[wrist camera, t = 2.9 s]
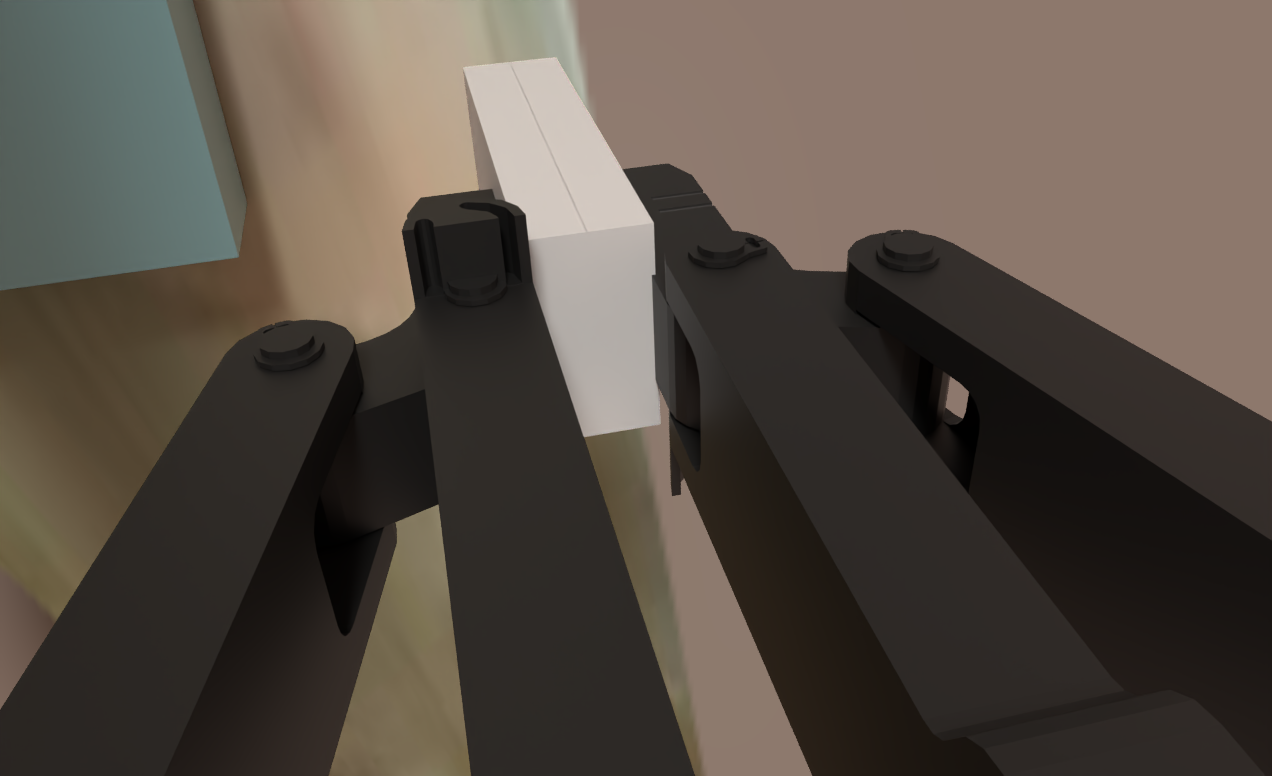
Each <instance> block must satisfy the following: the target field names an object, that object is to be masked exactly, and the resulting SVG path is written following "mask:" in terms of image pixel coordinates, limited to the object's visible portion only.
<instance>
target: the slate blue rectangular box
mask: <svg viewBox="0 0 1272 776" xmlns="http://www.w3.org/2000/svg"><path fill="white" fill-rule="evenodd" d="M246 208H247V201H246V197H245V193H244V189H243V186H242V182H241V178H240V175H239V171H238V167H237V163H236V160H235V156H234V152H233V148H232V145H231V141H230V137H229V134H228V130H227V126H226V122H225V119H224V115H223V111H222V108H221V104H220V100H219V96H218V93H217V89H216V85H215V81H214V78H213V74H212V70H211V67H210V63H209V59H208V55H207V52H206V48H205V44H204V41H203V37H202V33H201V29H200V26H199V22H198V18H197V14H196V11H195V7H194V3H193V0H0V290H8V289H15V288H22V287H29V286H36V285H44V284H51V283H58V282H65V281H72V280H80V279H87V278H94V277H101V276H108V275H116V274H123V273H130V272H137V271H144V270H152V269H159V268H166V267H173V266H180V265H188V264H195V263H202V262H209V261H216V260H224V259H231V258H238V257H239V253H240V247H241V240H242V234H243V227H244V221H245V214H246Z"/></svg>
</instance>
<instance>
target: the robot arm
mask: <svg viewBox="0 0 1272 776" xmlns="http://www.w3.org/2000/svg"><path fill="white" fill-rule="evenodd" d="M463 72H464V80H465V87H466V95H467V102H468V110H469V118H470V125H471V133H472V140H473V148H474V155H475V163H476V170H477V178H478V185H479V190H478V191H470V192H462V193H454V194H447V195H439V196H431V197H423V198H420V199H419V200H418V202H417V203H416V204H415V205H414V207H413V208H412V209H411V210H410V212H409V213H408V214H407V220H406V221H405V223H404V226H403V229H402V235H403V240H404V246H405V251H406V257H407V262H408V268H409V273H410V279H411V284H412V290H413V295H414V302H415V310H414V311H413V313H412V314H411V316H410V317H409V318H408V319H407V320H406V321H405V322H403V323H402V324H401V325H400V326H398V327H397V328H395V329H393V330H391V331H390V332H388V333H386V334H384V335H381V336H379V337H376V338H374V339H371V340H369V341H366V342H362V343H359V344H355V340H354V337H353V336H352V335H351V333H350V332H349V331H348V330H347V329H346V328H345V327H343V326H340V325H337V324H335V323H332V322H329V321H319V320H299V321H283V322H278V323H275V325H272V324H271V325H268V326H265V327H263V328H260V329H259V330H258V331H256V332H254V333H252V334H250V335H248V336H247V337H245V338H243V339H241V340H239V341H238V342H237V343H236V344H235V345H234V346H233V347H232V348H231V349H230V350H229V351H228V352H227V353H226V354H225V356H224V357H223V359H222V360H221V362H220V364H219V365H218V367H217V368H216V370H215V371H214V373H213V375H212V376H211V378H210V379H209V381H208V382H207V384H206V386H205V387H204V389H203V390H202V392H201V394H200V395H199V397H198V398H197V400H196V401H195V403H194V405H193V406H192V408H191V409H190V411H189V412H188V414H187V416H186V417H185V419H184V420H183V422H182V424H181V425H180V427H179V428H178V430H177V431H176V433H175V435H174V436H173V438H172V439H171V441H170V442H169V444H168V446H167V447H166V449H165V450H164V452H163V454H162V455H161V457H160V458H159V460H158V461H157V463H156V465H155V466H154V468H153V469H152V471H151V472H150V474H149V476H148V477H147V479H146V480H145V482H144V484H143V485H142V487H141V488H140V490H139V491H138V493H137V495H136V496H135V498H134V499H133V501H132V503H131V504H130V506H129V507H128V509H127V510H126V512H125V514H124V515H123V517H122V518H121V520H120V521H119V523H118V525H117V526H116V528H115V529H114V531H113V533H112V534H111V536H110V537H109V539H108V540H107V542H106V544H105V545H104V547H103V548H102V550H101V551H100V553H99V555H98V556H97V558H96V559H95V561H94V563H93V564H92V566H91V567H90V569H89V570H88V572H87V574H86V575H85V577H84V578H83V580H82V581H81V583H80V585H79V586H78V588H77V589H76V591H75V593H74V594H73V596H72V597H71V599H70V600H69V602H68V604H67V605H66V607H65V608H64V610H63V612H62V613H61V615H60V616H59V618H58V619H57V621H56V623H55V624H54V626H53V627H52V629H51V630H50V632H49V634H48V635H47V637H46V638H45V640H44V642H43V643H42V645H41V646H40V648H39V649H38V651H37V653H36V655H35V656H34V657H33V659H32V661H31V662H30V664H29V665H28V667H27V668H26V670H25V672H24V673H23V675H22V676H21V678H20V680H19V681H18V683H17V684H16V686H15V687H14V689H13V691H12V692H11V694H10V695H9V697H8V698H7V700H6V702H5V703H4V705H3V706H2V708H1V710H0V776H328V775H329V772H330V769H331V765H332V762H333V758H334V755H335V752H336V748H337V745H338V741H339V738H340V735H341V731H342V728H343V724H344V721H345V717H346V714H347V711H348V707H349V704H350V700H351V697H352V694H353V690H354V687H355V683H356V680H357V676H358V673H359V670H360V666H361V663H362V659H363V656H364V653H365V649H366V646H367V642H368V639H369V636H370V632H371V629H372V625H373V622H374V618H375V615H376V612H377V608H378V605H379V601H380V598H381V595H382V591H383V588H384V584H385V581H386V577H387V574H388V571H389V567H390V564H391V560H392V557H393V554H394V550H395V547H396V543H397V528H396V523H395V522H397V521H399V520H402V519H404V518H406V517H409V516H411V515H414V514H416V513H419V512H421V511H423V510H426V509H428V508H431V507H433V506H435V505H438V504H439V511H440V519H441V527H442V536H443V544H444V552H445V561H446V569H447V577H448V586H449V594H450V603H451V611H452V619H453V628H454V636H455V644H456V653H457V661H458V669H459V678H460V686H461V695H462V703H463V711H464V720H465V728H466V736H467V745H468V753H469V761H470V770H471V776H695V774H694V771H693V768H692V765H691V762H690V759H689V756H688V753H687V750H686V747H685V744H684V741H683V738H682V735H681V732H680V729H679V726H678V723H677V720H676V717H675V714H674V711H673V707H672V704H671V701H670V698H669V695H668V692H667V689H666V686H665V683H664V680H663V677H662V674H661V671H660V668H659V665H658V662H657V659H656V656H655V653H654V650H653V647H652V643H651V640H650V637H649V634H648V631H647V628H646V625H645V622H644V619H643V616H642V613H641V610H640V607H639V604H638V601H637V598H636V595H635V592H634V589H633V586H632V583H631V579H630V576H629V573H628V570H627V567H626V564H625V561H624V558H623V555H622V552H621V549H620V546H619V543H618V540H617V537H616V534H615V531H614V528H613V525H612V522H611V519H610V515H609V512H608V509H607V506H606V503H605V500H604V497H603V494H602V491H601V488H600V485H599V482H598V479H597V476H596V473H595V470H594V467H593V464H592V461H591V458H590V455H589V451H588V448H587V445H586V442H585V439H584V437H588V436H594V435H600V434H606V433H612V432H618V431H624V430H630V429H636V428H641V427H647V426H653V425H659V424H660V395H659V388H660V390H661V393H662V395H663V397H664V399H665V401H666V404H667V406H668V408H669V432H670V469H671V489H672V496H675V495H680V494H681V481H682V480H683V478H684V479H685V481H686V483H687V486H688V488H689V490H690V493H691V495H692V497H693V499H694V502H695V504H696V506H697V509H698V511H699V513H700V516H701V518H702V520H703V523H704V525H705V527H706V530H707V532H708V534H709V537H710V539H711V541H712V544H713V546H714V548H715V551H716V553H717V555H718V558H719V560H720V562H721V564H722V567H723V569H724V572H725V574H726V576H727V578H728V581H729V583H730V585H731V588H732V590H733V592H734V595H735V597H736V599H737V602H738V604H739V606H740V609H741V611H742V613H743V616H744V618H745V620H746V622H747V625H748V627H749V630H750V632H751V634H752V637H753V639H754V641H755V643H756V646H757V648H758V650H759V653H760V655H761V657H762V660H763V662H764V664H765V666H766V669H767V671H768V674H769V676H770V678H771V681H772V683H773V685H774V688H775V690H776V692H777V694H778V697H779V699H780V702H781V704H782V706H783V708H784V711H785V713H786V715H787V718H788V720H789V722H790V725H791V727H792V729H793V732H794V734H795V736H796V738H797V741H798V743H799V746H800V748H801V750H802V752H803V755H804V757H805V759H806V762H807V764H808V767H809V769H810V771H811V773H812V776H1272V422H1271V421H1270V420H1268V419H1266V418H1264V417H1263V416H1261V415H1259V414H1257V413H1255V412H1253V411H1252V410H1250V409H1248V408H1247V407H1245V406H1243V405H1241V404H1239V403H1238V402H1235V401H1234V400H1232V399H1230V398H1228V397H1227V396H1225V395H1223V394H1221V393H1220V392H1218V391H1216V390H1214V389H1213V388H1211V387H1209V386H1207V385H1205V384H1204V383H1202V382H1200V381H1198V380H1196V379H1194V378H1193V377H1191V376H1189V375H1188V374H1186V373H1184V372H1182V371H1180V370H1178V369H1177V368H1175V367H1173V366H1171V365H1170V364H1168V363H1166V362H1164V361H1162V360H1161V359H1159V358H1157V357H1155V356H1154V355H1152V354H1150V353H1148V352H1146V351H1145V350H1143V349H1141V348H1139V347H1137V346H1136V345H1134V344H1132V343H1130V342H1128V341H1127V340H1125V339H1123V338H1121V337H1120V336H1118V335H1116V334H1114V333H1112V332H1111V331H1109V330H1107V329H1105V328H1103V327H1102V326H1100V325H1098V324H1096V323H1095V322H1092V321H1091V320H1089V319H1087V318H1086V317H1084V316H1082V315H1080V314H1078V313H1077V312H1074V311H1073V310H1071V309H1069V308H1068V307H1065V306H1064V305H1062V304H1061V303H1059V302H1057V301H1055V300H1053V299H1052V298H1050V297H1048V296H1046V295H1044V294H1043V293H1040V292H1039V291H1037V290H1036V289H1034V288H1032V287H1030V286H1028V285H1027V284H1025V283H1023V282H1021V281H1019V280H1018V279H1016V278H1014V277H1012V276H1010V275H1009V274H1007V273H1005V272H1003V271H1002V270H1000V269H998V268H996V267H994V266H993V265H991V264H989V263H987V262H985V261H984V260H982V259H980V258H978V257H976V256H975V255H973V254H971V253H969V252H967V251H966V250H964V249H962V248H960V247H959V246H957V245H955V244H953V243H951V242H948V241H946V240H943V239H941V238H938V237H936V236H932V235H926V234H921V233H919V232H917V231H914V230H913V231H912V230H903V232H901V230H890V231H887V232H886V233H880V234H875V235H870V236H867V237H865V238H863V239H861V240H858V241H856V242H855V243H854V244H853V245H852V247H851V248H850V249H849V250H848V259H847V271H846V272H829V271H803V270H793V269H792V268H791V266H790V265H789V264H788V262H787V261H786V260H785V259H784V257H783V256H782V255H781V254H780V252H779V251H778V250H777V248H776V247H775V246H774V245H772V244H771V243H770V242H768V241H767V240H766V239H764V238H761V237H758V236H756V235H753V234H750V233H747V232H739V231H732V230H731V228H730V227H729V225H728V224H727V223H726V221H725V220H724V218H723V217H722V216H721V214H720V213H719V212H718V210H717V209H716V208H715V206H712V202H711V201H710V200H709V198H708V197H707V195H706V194H705V193H703V190H702V188H701V187H700V186H699V184H698V183H697V181H696V180H695V179H694V177H693V176H692V175H691V174H688V173H686V172H684V171H682V170H680V169H678V168H676V167H674V166H672V165H670V164H660V165H653V166H645V167H637V168H630V169H621V167H620V165H619V163H618V162H617V160H616V158H615V156H614V155H613V153H612V152H611V150H610V148H609V146H608V145H607V143H606V141H605V139H604V138H603V136H602V134H601V133H600V131H599V129H598V128H597V126H596V124H595V123H594V121H593V119H592V117H591V116H590V114H589V112H588V111H587V109H586V107H585V106H584V104H583V102H582V101H581V99H580V97H579V95H578V94H577V92H576V90H575V89H574V87H573V85H572V84H571V82H570V80H569V79H568V77H567V75H566V73H565V72H564V70H563V68H562V67H561V65H560V63H559V62H558V60H557V58H556V57H553V58H543V59H534V60H525V61H515V62H506V63H497V64H488V65H478V66H469V67H463ZM950 376H951V377H952V378H954V379H955V380H956V381H958V382H959V383H961V384H962V385H963V386H964V387H965V388H966V389H967V390H968V391H969V396H968V402H967V408H966V413H965V415H964V418H963V419H962V418H960V417H958V416H956V415H955V414H953V413H952V412H951V411H949V410H948V409H947V408H945V406H946V400H947V394H948V387H949V380H950Z"/></svg>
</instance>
